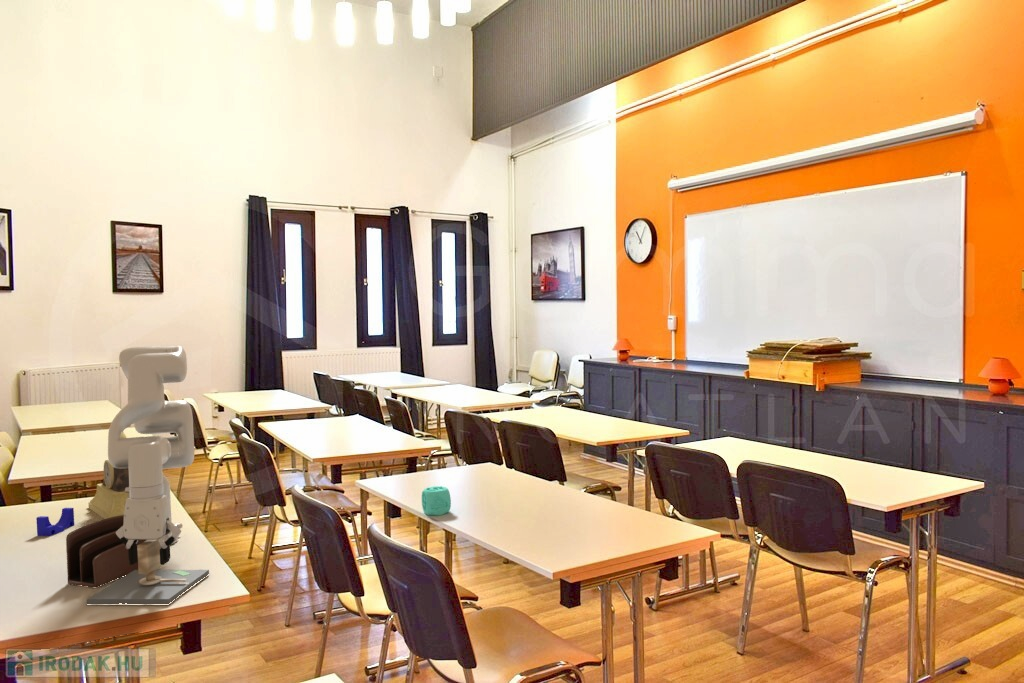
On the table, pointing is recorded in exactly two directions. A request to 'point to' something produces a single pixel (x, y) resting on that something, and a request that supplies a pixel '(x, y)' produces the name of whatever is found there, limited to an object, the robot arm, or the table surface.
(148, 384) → the robot arm
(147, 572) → the tuning knob
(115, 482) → the decorative clock
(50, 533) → the cable clip
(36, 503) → the table surface
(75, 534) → the letter holder
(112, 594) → the dial board
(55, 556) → the table surface
